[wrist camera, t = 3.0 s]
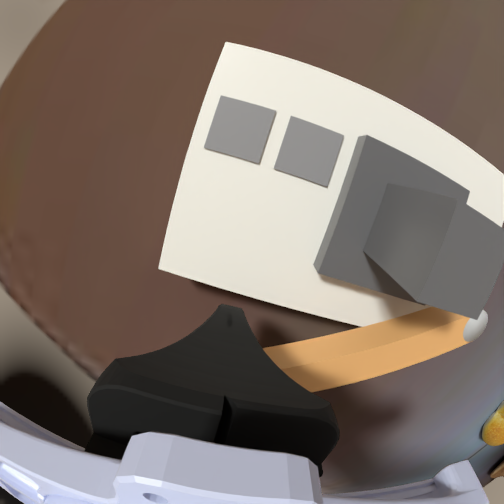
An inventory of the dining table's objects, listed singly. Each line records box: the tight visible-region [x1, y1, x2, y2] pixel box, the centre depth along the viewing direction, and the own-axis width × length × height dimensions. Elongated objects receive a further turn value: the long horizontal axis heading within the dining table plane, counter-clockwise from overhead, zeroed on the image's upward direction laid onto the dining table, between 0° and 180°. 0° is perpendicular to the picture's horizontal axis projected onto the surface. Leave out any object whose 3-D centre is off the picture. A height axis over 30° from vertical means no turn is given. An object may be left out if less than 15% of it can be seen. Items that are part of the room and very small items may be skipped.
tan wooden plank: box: [262, 306, 488, 392], centre depth 12 cm, size 15×2×3 cm, turn 102°
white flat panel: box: [158, 42, 504, 327], centre depth 13 cm, size 16×10×3 cm, turn 73°
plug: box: [313, 135, 504, 320], centre depth 10 cm, size 6×6×8 cm
